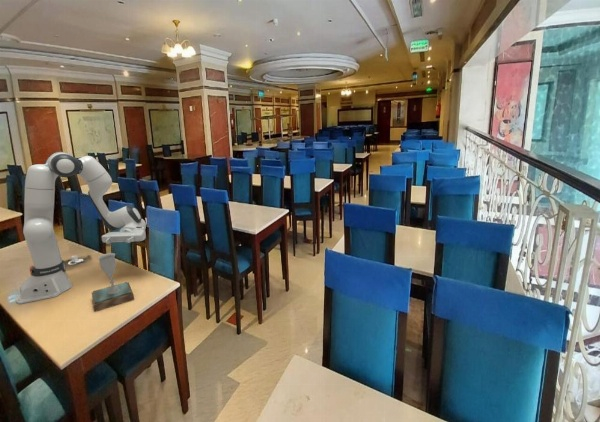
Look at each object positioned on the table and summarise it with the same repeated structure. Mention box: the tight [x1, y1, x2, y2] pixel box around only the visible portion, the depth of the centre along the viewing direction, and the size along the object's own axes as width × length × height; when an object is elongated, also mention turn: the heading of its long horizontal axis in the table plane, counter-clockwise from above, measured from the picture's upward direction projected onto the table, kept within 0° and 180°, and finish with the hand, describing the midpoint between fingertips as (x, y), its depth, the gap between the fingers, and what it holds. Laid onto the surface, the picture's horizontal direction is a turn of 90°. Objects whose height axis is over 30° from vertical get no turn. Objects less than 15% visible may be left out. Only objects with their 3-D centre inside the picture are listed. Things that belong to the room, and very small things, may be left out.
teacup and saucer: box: [67, 255, 84, 265], centre depth 195 cm, size 9×8×4 cm
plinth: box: [91, 281, 135, 312], centre depth 151 cm, size 16×14×4 cm
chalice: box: [97, 252, 120, 294], centre depth 148 cm, size 7×7×18 cm
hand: (117, 242), depth 160 cm, fingers open, 8 cm apart
